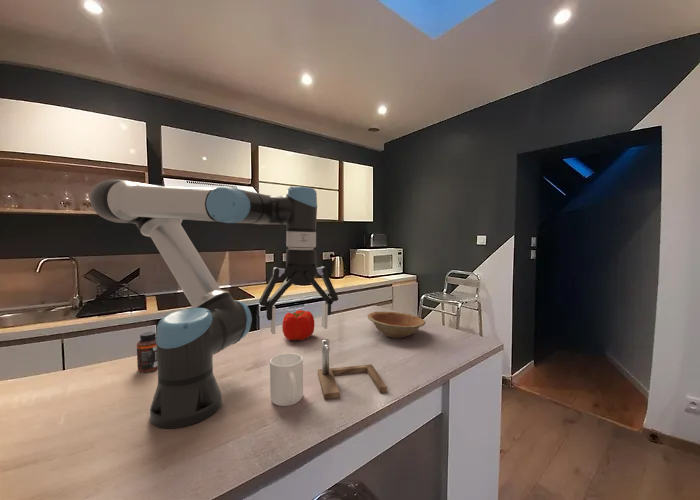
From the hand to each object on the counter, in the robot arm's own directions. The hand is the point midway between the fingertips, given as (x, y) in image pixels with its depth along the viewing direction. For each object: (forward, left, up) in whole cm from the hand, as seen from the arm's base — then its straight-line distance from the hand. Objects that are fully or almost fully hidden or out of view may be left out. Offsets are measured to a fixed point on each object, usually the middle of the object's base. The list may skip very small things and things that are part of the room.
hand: (299, 329), depth 79 cm
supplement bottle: (-45, +25, -18) cm, 55 cm away
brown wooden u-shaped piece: (+14, +3, -18) cm, 23 cm away
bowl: (+42, +38, -18) cm, 59 cm away
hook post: (+8, +5, -16) cm, 19 cm away
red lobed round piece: (+2, +43, -18) cm, 47 cm away
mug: (-3, -3, -18) cm, 18 cm away
